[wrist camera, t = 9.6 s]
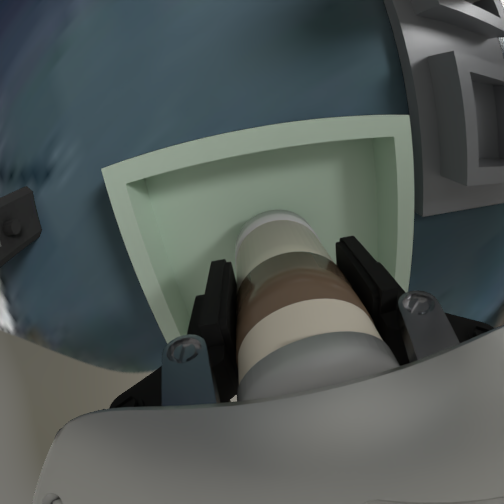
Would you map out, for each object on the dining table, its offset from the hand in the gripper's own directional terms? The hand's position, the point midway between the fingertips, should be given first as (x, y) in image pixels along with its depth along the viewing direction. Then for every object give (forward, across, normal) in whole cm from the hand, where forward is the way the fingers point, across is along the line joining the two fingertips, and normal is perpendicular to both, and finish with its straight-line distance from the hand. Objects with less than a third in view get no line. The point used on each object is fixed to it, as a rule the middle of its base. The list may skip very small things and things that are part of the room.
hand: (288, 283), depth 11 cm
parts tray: (+5, 0, 0) cm, 5 cm away
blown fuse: (+3, 0, 0) cm, 3 cm away
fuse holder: (+5, -14, -11) cm, 18 cm away
